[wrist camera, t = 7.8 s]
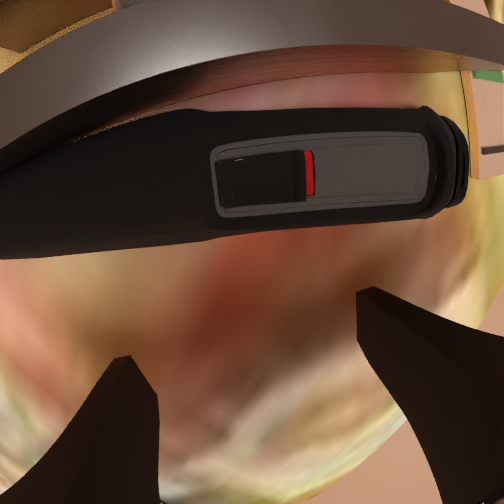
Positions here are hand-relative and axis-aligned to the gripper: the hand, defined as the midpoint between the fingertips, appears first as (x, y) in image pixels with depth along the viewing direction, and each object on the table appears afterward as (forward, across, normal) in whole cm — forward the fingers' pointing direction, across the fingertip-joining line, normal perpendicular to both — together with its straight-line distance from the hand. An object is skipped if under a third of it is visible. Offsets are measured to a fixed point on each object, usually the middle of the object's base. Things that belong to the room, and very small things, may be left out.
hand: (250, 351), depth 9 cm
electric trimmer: (+2, -1, -5) cm, 5 cm away
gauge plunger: (+1, -2, -13) cm, 14 cm away
